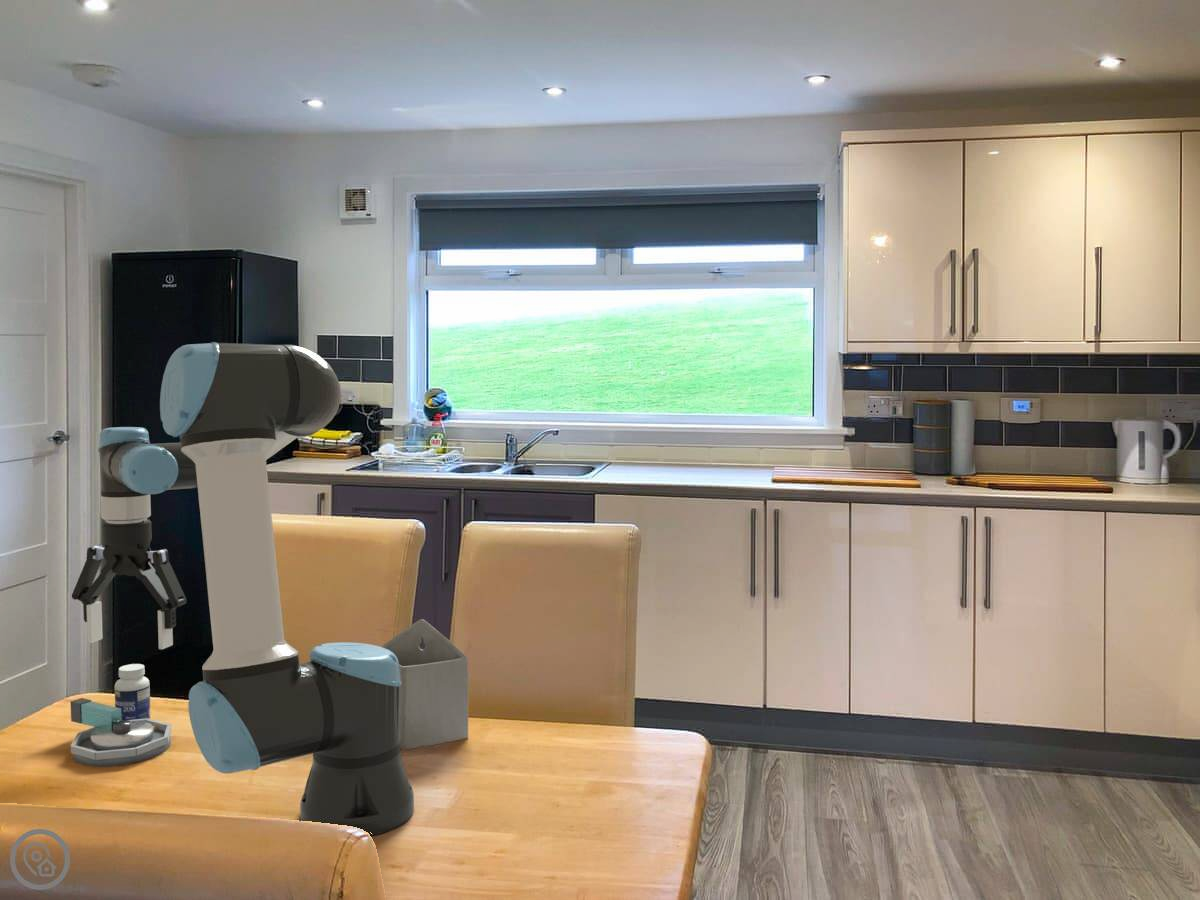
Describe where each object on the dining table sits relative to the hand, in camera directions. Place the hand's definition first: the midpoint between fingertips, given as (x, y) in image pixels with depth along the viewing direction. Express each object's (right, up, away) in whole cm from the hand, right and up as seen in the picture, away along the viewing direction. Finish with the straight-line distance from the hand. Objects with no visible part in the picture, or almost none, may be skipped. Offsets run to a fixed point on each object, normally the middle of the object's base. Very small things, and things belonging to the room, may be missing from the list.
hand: (130, 644), depth 171 cm
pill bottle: (0, -14, +1) cm, 14 cm away
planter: (+49, -15, -6) cm, 51 cm away
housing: (+4, -15, -10) cm, 18 cm away
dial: (+1, -13, -9) cm, 16 cm away
